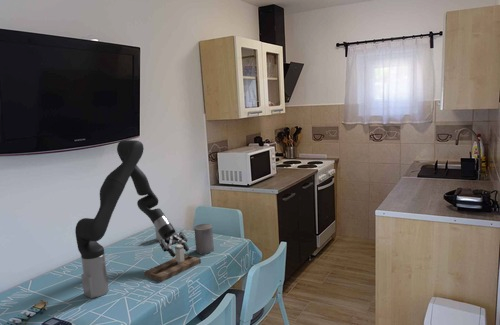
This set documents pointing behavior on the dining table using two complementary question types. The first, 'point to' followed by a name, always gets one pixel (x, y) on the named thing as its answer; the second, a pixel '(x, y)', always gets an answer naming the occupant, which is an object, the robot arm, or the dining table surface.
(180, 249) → the fader tab
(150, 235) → the dining table surface
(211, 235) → the pillar candle
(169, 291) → the dining table surface
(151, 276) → the fader console
